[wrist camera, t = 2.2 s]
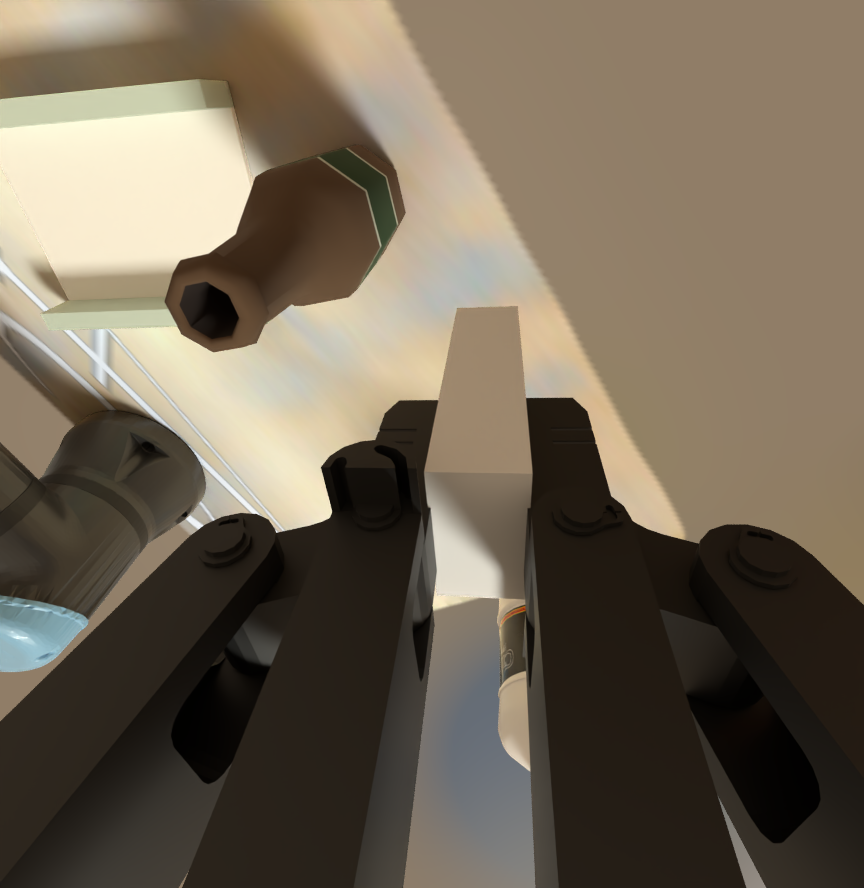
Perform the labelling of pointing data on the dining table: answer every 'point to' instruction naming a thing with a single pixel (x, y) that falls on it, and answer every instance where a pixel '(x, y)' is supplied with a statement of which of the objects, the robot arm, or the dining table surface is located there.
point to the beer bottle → (290, 247)
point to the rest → (125, 191)
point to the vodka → (513, 681)
